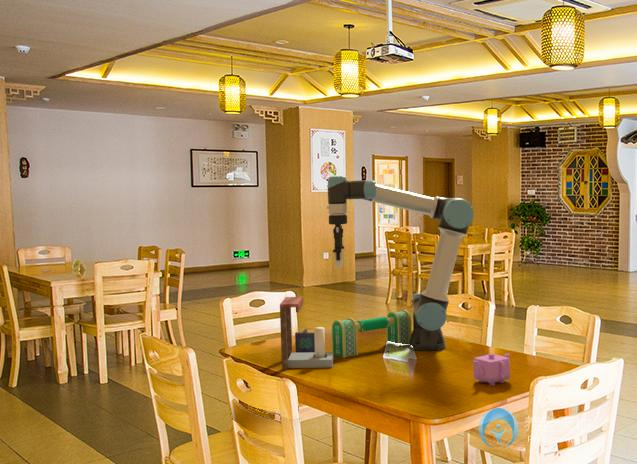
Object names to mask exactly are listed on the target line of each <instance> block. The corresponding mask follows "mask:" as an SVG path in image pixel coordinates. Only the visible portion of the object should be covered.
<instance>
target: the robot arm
mask: <svg viewBox="0 0 637 464" xmlns="http://www.w3.org/2000/svg"><path fill="white" fill-rule="evenodd" d="M348 200H365V201H367V202H373V203H377V204H382V205H385V206H389V207H394V208H398V209H401V210H406V211H409V212H410V211H411V212H414V213H417V214H421V215H425V216H426V215H427V216H429V217H430V219H432V220H437V221H439V222H438V226H437V228H438V230H439V232H440V234H439V237H438V242H437V246H436V249H435V252H434V257H433V260H432V264H431V268H430V271H429V272H430V273H429V275H428V280H427V283H426V287H425V290H423V291H421V292H420V293H414V294H413V295H412V325H413V326H412V328H413V329H412V335H411V338H410V345H412V346H413V348H414V349H413V350H417V351H427V352H428V351H440V350H443V349H445V348H446V339H445V337H444V334H443V331H442V327H443V326H444V325H445V324H446V321H447V309H448V306H449V302H450V299H449V297H448V296H447V295H448V291H449V288H450V284H451V280H452V276H453V273H454V269H455V266H456V265H455V264H456V261H457V257H458V254H459V249H460V247H461V244H462V243H461V242H462V239H463V238H464V237H466V236H467V235H468V232H469V231H468V230H469V227H470V224H471V223H472V222H473V220H474V215H475V212H474V209H473V208H474V207H473V206H472V204H471V203H470V202H469V201H468V200H467V199H464V198H462V197H442V196H435V197H431V196H427V195H422V194H419V193H415V192H410V191H406V190H401V189H397V188H394V187H390V186H385V185H382V184H377V183H376V181H375V180H372V179H371V180H369V179H368V180H367V179H366V180H347V177H346V176H345V175H342V176H337V175H336V176H329V177H328V179H327V202H328V203H327V204H328V206H326V209H327V210H328V224H329V225H332V226H333V225H334V228H333V229H332V234H333V240H334V248H333V250H332V253H334V269H335V270H339V269H341V270H342V269H343V265H344V250H345V246H344V244H343V237H344V228H343V226H342V225H347V224H348V215H347V214H348V203H347V201H348ZM410 345H409V346H410Z"/></svg>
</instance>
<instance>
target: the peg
mask: <svg viewBox="0 0 637 464" xmlns="http://www.w3.org/2000/svg"><path fill="white" fill-rule="evenodd" d="M313 332H314V338H315V358H325V352H326V344H325V343H326V340H325V338H326V336H325V332H326V331H325V327H323V326H318V327H314V328H313Z"/></svg>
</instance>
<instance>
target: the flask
mask: <svg viewBox="0 0 637 464" xmlns="http://www.w3.org/2000/svg"><path fill="white" fill-rule="evenodd" d="M308 330H309V328H307V327H304V330H299V331H296V332H295V333H294V339H295V342H294V343H295V347H294V348H295V353H307V352H315V338H314V331H308Z"/></svg>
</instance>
